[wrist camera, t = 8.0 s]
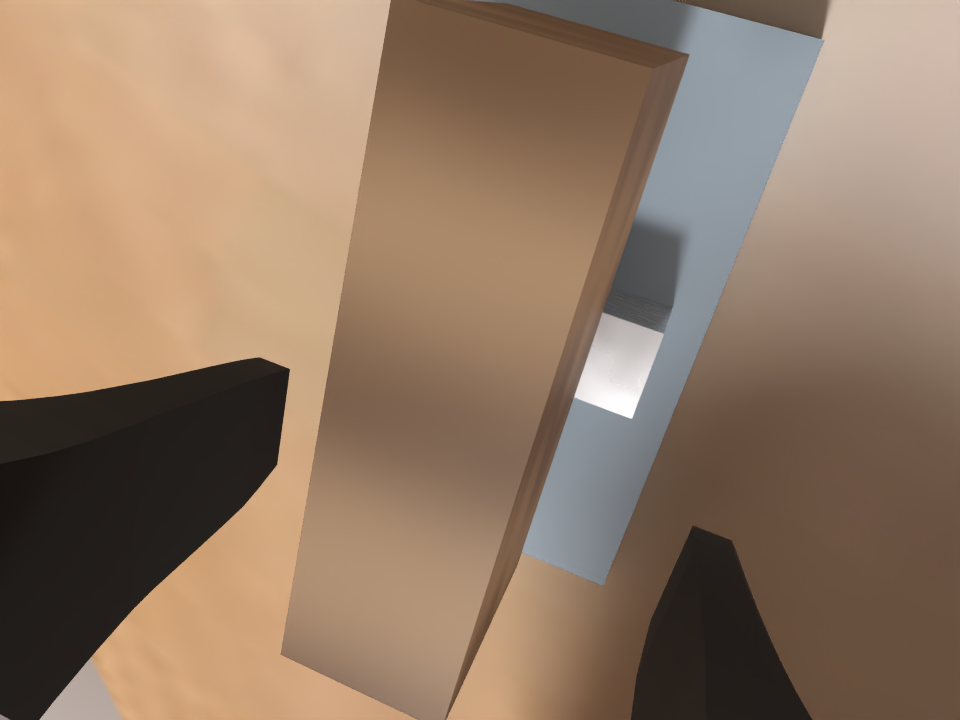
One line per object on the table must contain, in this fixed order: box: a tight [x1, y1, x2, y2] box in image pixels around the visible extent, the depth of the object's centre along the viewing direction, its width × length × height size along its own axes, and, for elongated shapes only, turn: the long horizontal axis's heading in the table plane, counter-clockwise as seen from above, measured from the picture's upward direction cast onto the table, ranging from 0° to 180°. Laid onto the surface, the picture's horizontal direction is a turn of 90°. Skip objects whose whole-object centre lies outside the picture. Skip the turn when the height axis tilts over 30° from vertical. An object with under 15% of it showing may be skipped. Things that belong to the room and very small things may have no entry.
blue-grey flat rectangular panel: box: [470, 0, 824, 586], centre depth 22 cm, size 16×9×1 cm, turn 166°
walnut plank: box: [281, 0, 690, 720], centre depth 17 cm, size 14×4×6 cm, turn 166°
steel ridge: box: [574, 286, 673, 419], centre depth 21 cm, size 2×7×2 cm, turn 76°
